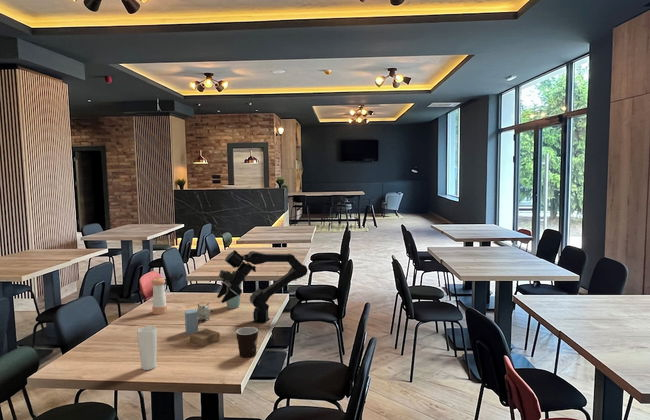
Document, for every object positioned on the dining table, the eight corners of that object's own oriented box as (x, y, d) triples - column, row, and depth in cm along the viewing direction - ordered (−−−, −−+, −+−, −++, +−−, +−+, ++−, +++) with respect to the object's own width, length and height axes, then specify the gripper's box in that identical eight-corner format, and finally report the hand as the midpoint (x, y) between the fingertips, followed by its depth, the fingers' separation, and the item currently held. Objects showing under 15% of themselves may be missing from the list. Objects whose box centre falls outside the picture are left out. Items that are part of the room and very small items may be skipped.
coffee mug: (248, 361, 171) (247, 336, 170) (232, 356, 176) (231, 332, 175) (267, 350, 181) (267, 327, 180) (252, 346, 185) (251, 323, 185)
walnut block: (206, 337, 198) (206, 328, 198) (219, 341, 193) (219, 332, 193) (189, 343, 191) (189, 334, 191) (202, 348, 186) (202, 338, 185)
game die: (206, 328, 220) (206, 316, 214) (191, 321, 221) (190, 309, 215) (215, 314, 227) (216, 302, 220) (201, 308, 228) (201, 296, 222)
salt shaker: (170, 311, 236) (168, 276, 235) (158, 315, 230) (156, 279, 229) (161, 309, 240) (159, 274, 239) (149, 313, 234) (147, 277, 232)
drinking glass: (142, 364, 170) (140, 326, 169) (160, 363, 171) (158, 325, 169) (136, 372, 163) (134, 332, 162) (155, 371, 164) (153, 331, 163)
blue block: (196, 329, 207) (195, 309, 206) (198, 333, 203) (197, 311, 202) (185, 331, 205) (184, 310, 204) (187, 335, 201) (186, 313, 200)
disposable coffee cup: (240, 309, 237) (239, 282, 236) (220, 310, 237) (219, 282, 236) (244, 303, 247) (243, 277, 246) (225, 304, 248) (224, 277, 246)
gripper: (224, 260, 218) (203, 285, 214) (233, 267, 201) (210, 295, 197) (240, 273, 222) (220, 298, 218) (251, 281, 205) (229, 308, 201)
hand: (219, 300), depth 209 cm, fingers open, 9 cm apart
